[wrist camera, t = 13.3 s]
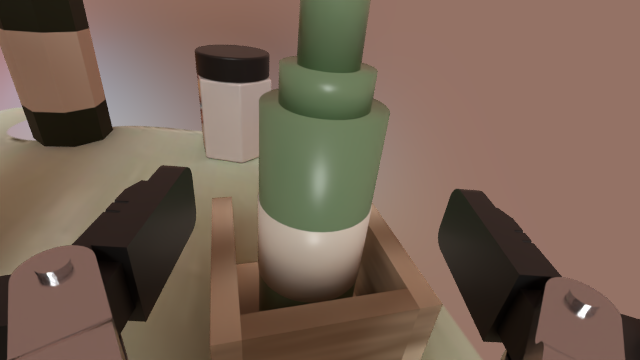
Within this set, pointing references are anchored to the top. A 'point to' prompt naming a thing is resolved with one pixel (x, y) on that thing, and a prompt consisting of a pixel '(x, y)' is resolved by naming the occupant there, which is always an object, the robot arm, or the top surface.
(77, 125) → the wine bottle
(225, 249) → the cradle
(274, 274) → the green bottle
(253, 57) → the jar
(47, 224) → the top surface
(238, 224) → the top surface
